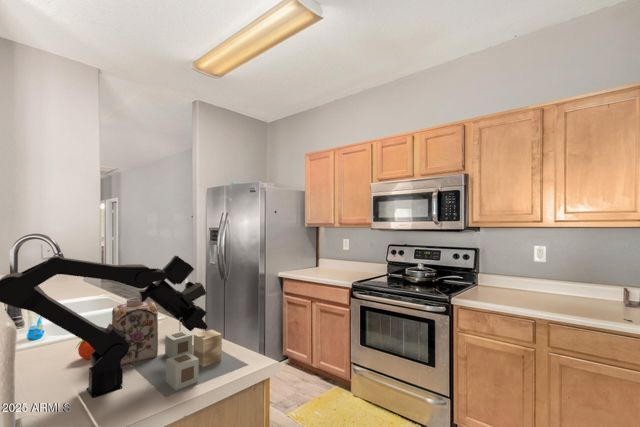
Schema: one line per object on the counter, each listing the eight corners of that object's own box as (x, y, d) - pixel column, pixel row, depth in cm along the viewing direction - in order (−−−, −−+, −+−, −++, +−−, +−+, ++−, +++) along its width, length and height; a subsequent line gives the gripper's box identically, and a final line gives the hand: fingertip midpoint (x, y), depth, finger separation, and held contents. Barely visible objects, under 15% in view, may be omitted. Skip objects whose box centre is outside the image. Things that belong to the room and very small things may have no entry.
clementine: (80, 367, 94) (81, 342, 94) (69, 361, 98) (69, 338, 98) (109, 357, 101) (110, 334, 101) (97, 352, 105) (98, 330, 105)
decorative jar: (152, 346, 110) (152, 293, 110) (158, 356, 100) (158, 298, 101) (110, 355, 103) (111, 298, 103) (113, 367, 93) (114, 304, 94)
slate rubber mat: (166, 399, 78) (166, 397, 78) (129, 365, 95) (129, 363, 95) (248, 366, 96) (248, 364, 96) (205, 343, 113) (205, 341, 113)
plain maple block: (203, 366, 94) (203, 339, 94) (193, 360, 98) (193, 334, 98) (221, 360, 98) (221, 334, 99) (211, 354, 103) (211, 329, 103)
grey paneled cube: (176, 390, 81) (176, 365, 81) (165, 381, 85) (166, 358, 85) (198, 381, 86) (199, 358, 86) (187, 373, 90) (188, 351, 90)
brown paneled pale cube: (173, 360, 98) (173, 339, 98) (165, 354, 103) (165, 334, 103) (192, 354, 103) (192, 334, 103) (183, 348, 107) (183, 330, 107)
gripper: (199, 280, 88) (236, 313, 94) (179, 271, 102) (213, 300, 109) (167, 314, 83) (210, 346, 89) (152, 299, 97) (189, 328, 104)
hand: (206, 327), depth 98 cm, fingers closed
